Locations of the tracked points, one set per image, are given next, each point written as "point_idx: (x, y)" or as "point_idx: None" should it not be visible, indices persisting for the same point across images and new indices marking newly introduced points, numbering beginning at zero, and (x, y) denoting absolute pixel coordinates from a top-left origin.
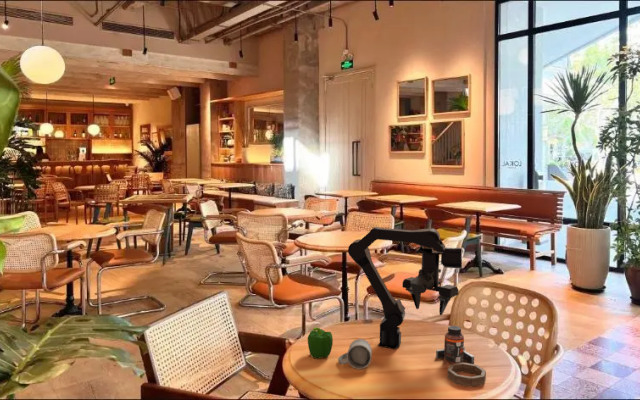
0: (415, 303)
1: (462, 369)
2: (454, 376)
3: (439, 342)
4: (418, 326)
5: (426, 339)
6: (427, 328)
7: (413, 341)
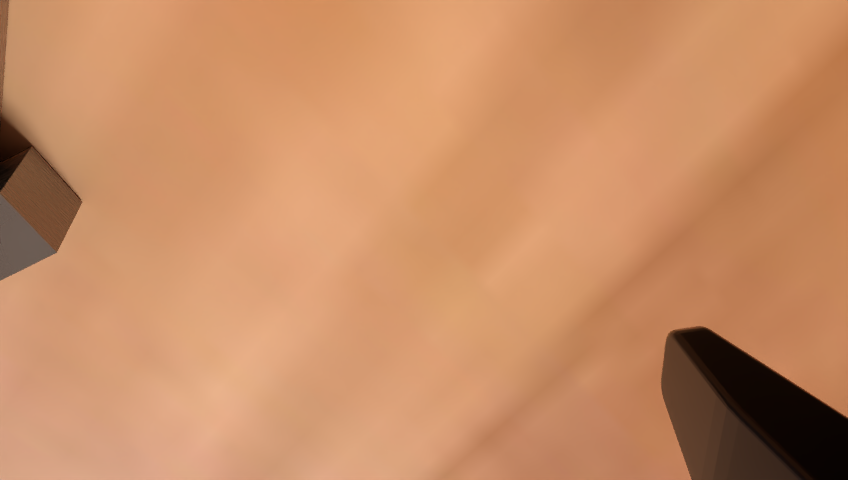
0: (810, 432)
1: None
2: None
3: (370, 281)
4: None
5: (519, 239)
6: None
7: (592, 84)
